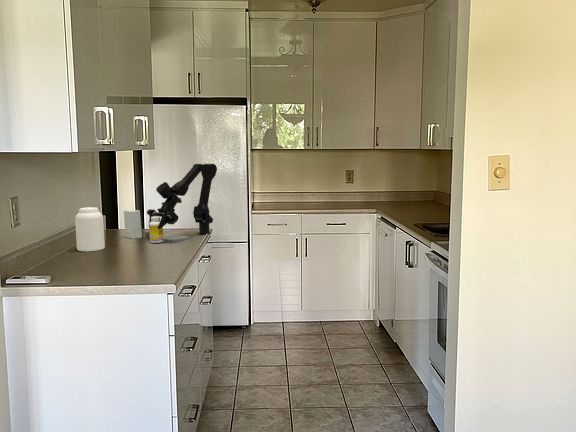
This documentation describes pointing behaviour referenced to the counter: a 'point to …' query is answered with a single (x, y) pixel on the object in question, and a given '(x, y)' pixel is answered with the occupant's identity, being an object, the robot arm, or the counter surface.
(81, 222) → the white jar
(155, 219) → the supplement bottle
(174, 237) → the grey flat square piece
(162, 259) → the counter surface
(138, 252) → the counter surface
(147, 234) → the dark grey thick disc
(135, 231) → the skincare box
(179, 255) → the counter surface
